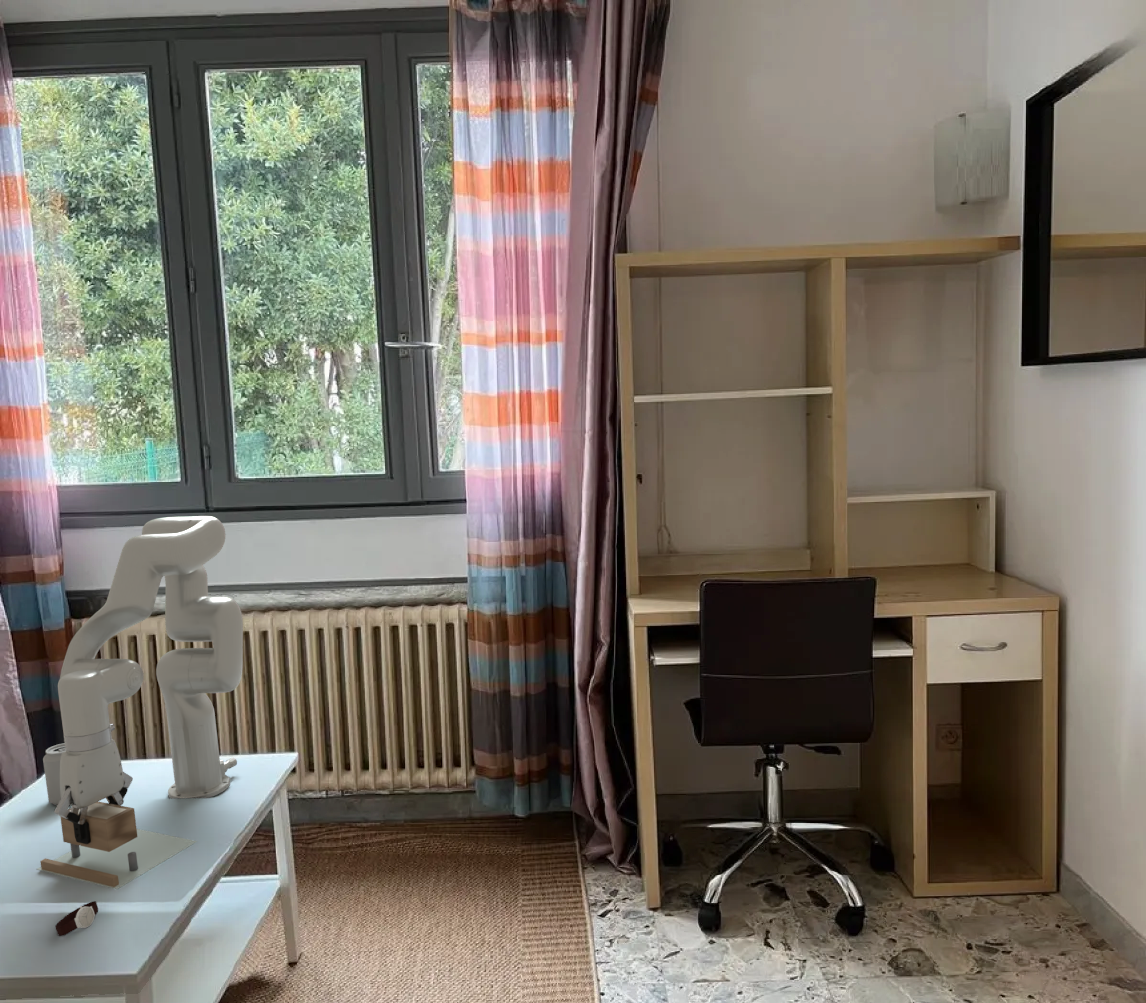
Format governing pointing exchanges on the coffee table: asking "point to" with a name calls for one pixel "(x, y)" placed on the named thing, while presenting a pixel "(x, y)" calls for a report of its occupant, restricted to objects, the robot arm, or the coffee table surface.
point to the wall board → (116, 859)
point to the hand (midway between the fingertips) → (99, 833)
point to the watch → (77, 919)
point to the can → (53, 772)
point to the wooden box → (104, 826)
